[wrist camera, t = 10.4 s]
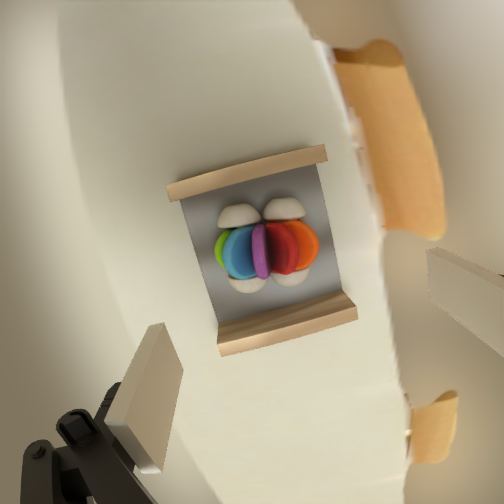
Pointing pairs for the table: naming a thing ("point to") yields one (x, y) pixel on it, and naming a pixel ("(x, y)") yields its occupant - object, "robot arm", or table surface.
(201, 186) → the bay
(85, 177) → the table surface
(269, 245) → the rainbow petal toy
